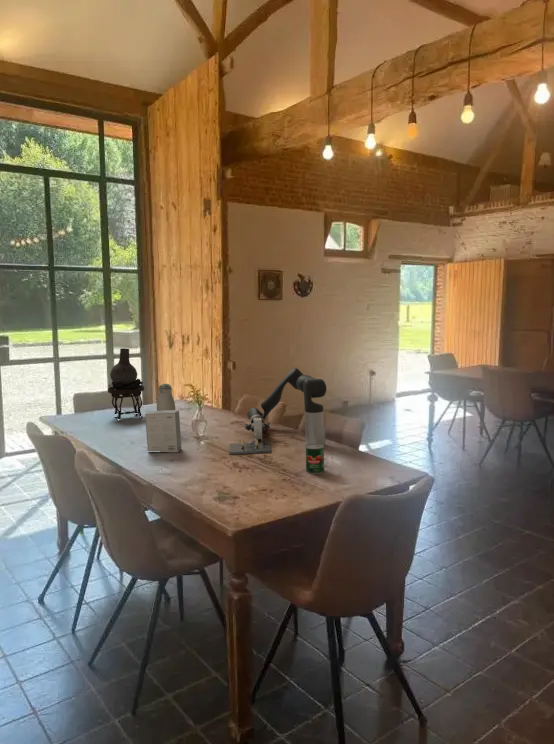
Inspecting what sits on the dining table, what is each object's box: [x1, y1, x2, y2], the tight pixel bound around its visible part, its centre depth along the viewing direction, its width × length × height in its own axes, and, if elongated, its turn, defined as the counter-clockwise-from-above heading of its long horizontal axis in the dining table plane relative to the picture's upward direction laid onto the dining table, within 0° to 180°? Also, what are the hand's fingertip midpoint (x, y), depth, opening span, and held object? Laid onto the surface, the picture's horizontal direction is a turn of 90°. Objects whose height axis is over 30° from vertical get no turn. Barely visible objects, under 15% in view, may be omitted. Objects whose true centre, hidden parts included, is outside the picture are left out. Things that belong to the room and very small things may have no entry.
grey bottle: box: [156, 383, 176, 411], centre depth 323 cm, size 10×10×28 cm
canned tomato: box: [305, 444, 325, 475], centre depth 244 cm, size 8×8×11 cm
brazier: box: [107, 348, 145, 419], centre depth 368 cm, size 22×22×45 cm
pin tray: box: [228, 439, 272, 455], centre depth 283 cm, size 16×20×4 cm
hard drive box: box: [144, 409, 182, 453], centre depth 284 cm, size 16×8×20 cm, turn 84°
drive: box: [253, 418, 263, 442], centre depth 297 cm, size 6×4×12 cm, turn 4°
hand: (258, 429), depth 294 cm, fingers open, 4 cm apart
